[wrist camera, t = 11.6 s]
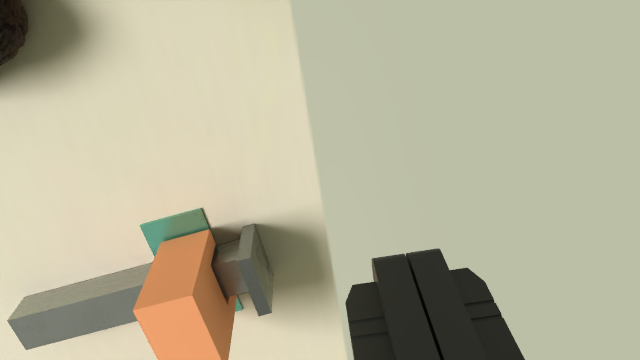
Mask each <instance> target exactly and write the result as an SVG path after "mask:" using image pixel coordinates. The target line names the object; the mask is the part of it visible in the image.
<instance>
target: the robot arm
mask: <svg viewBox="0 0 640 360" xmlns="http://www.w3.org/2000/svg"><path fill="white" fill-rule="evenodd" d="M372 269H373V278H374V282H370V283H364V284H356V285H352V288H351V290H350V293H349V295H348V298H347V300H346V309H347V316H348V322H349V329H350V336H351V343H352V349H353V356H354V360H525V359H524V357H523V355H522V353H521V351H520V349H519V347H518V345H517V344H516V342H515V340H514V338H513V336H512V334H511V332H510V330H509V328H508V326H507V324H506V322H505V320H504V318H502V316H501V312H500V310H499V309H498V307H497V305H496V303H494V299H493V297H492V295H491V293H490V291H489V289H488V287H487V285H486V283H485V282H484V281H483V280H482V279H481V278H479V277H478V276H477V275H476V274H475V273H473V272H472V271H471V270H470V269H468V268H463V269H456V270H449V268H448V266H447V264H446V262H445V259H444V257H443V255H442V253H441V251H440V249H431V250H425V251H419V252H411V253H406V256H405V255H404V254H399V255H393V256H386V257H379V258H373V259H372Z"/></svg>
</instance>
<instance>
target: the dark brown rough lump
mask: <svg viewBox="0 0 640 360" xmlns="http://www.w3.org/2000/svg"><path fill="white" fill-rule="evenodd" d="M27 30H28V18H27V15H26V12H25V10H24V8H23V6H22V5H21V2H20V0H0V66H1V65H2V64H4V63H6V62H8V61H9V60H11V59H13V58H14V56H15V55H16V54H17V52H18V49H19V48H20V47H22V46H23V45H24V43H25V35H26V33H27Z"/></svg>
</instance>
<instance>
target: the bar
mask: <svg viewBox="0 0 640 360" xmlns="http://www.w3.org/2000/svg"><path fill="white" fill-rule="evenodd" d="M140 227H141V229H142V231H143V234H144V236H145V238H146V240H147V242H148V244H149V246H150V248H151V250H152V253H153V255H154V257H155V256H156V253H157V251H158V248H159V246H160V244H161V242H164V241H168V240H171V239H175V238H179V237H182V236H186V235H190V234H193V233H197V232H201V231H205V230H208V229H209V226H208V224H207V222H206V219H205V217H204V214H203V212H202V209H201V208H200V209H196V210H192V211H189V212H185V213H182V214H178V215H174V216H171V217H167V218H163V219H160V220H156V221H152V222H149V223H145V224H141V225H140ZM151 265H152V263H150V264H146V265H142V266H139V267H135V268H131V269H127V270H124V271H120V272H116V273H113V274H109V275H105V276H101V277H98V278H94V279H90V280H87V281H83V282H79V283H75V284H72V285H68V286H64V287H60V288H57V289H53V290H49V291H46V292H42V293H38V294H34V295H31V296H27V297H24V298H23V300H22V301H21V303H20V304H19V305H18V307H17V308H16V309H15V311H14V312H13V313H12V315H11V316H10V318H9V319H8V320H7V321H8V323H9V324H10V326H11V327H12V329H13V331H14V332H15V334H16V335H17V337H18V338H19V340H20V341H21V343H22V345H23V346H24V348H25V349H26V350H28V349H32V348H36V347H39V346H43V345H47V344H51V343H55V342H58V341H62V340H66V339H70V338H74V337H77V336H81V335H85V334H89V333H93V332H97V331H100V330H104V329H108V328H112V327H116V326H119V325H123V324H127V323H131V322H135V321H138V320H137V318H136V316H135V314H134V312H133V309H134V306H135V304H136V302H137V299H138V297H139V294H140V292H141V289H142V287H143V285H144V282H145V280H146V277H147V275H148V273H149V270H150V268H151ZM211 267H212V270H213V272H214V275H215V277H216V279H217V282H218V284H219V286H220V289H221V291H222V293H223V296H224V298H226V297H230V296H234V295H237V294H241V293H245V292H249V293H250V295H251V298H252V300H253V303H254V305H255V308H256V310H257V313H258V315H259V316H261V315H265V314H269V313H272V293H273V273H272V270H271V267H270V265H269V262H268V259H267V256H266V254H265V251H264V248H263V246H262V243H261V240H260V238H259V235H258V232H257V230H256V227H255V224H251V225H248V226H244V227H242V232H241V238H240V239H239V240H235V241H232V242H228V243H224V244H220V245H217V246H216V245H215V249H214V253H213V258H212V262H211ZM239 310H242V306H241V304H240V301H239V299H238V297H237V301H236V308H235V311H239Z"/></svg>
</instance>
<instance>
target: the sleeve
mask: <svg viewBox="0 0 640 360" xmlns="http://www.w3.org/2000/svg"><path fill="white" fill-rule="evenodd" d="M215 245H216V243H215V241H214V239H213V236H212V234H211V231H210V229H208V230H205V231H201V232H197V233H193V234H190V235H186V236H182V237H179V238H175V239H171V240H168V241H164V242H161V244H160V246H159V248H158V251H157V253H156V256H155V258H154V261H153V263H152V265H151V268H150V270H149V273H148V275H147V277H146V280H145V282H144V285H143V287H142V289H141V292H140V294H139V297H138V299H137V302H136V304H135V306H134V309H133V312H134V314H135V316H136V318H137V320H138V322H139V324H140V326H141V328H142V330H143V332H144V334H145V336H146V338H147V339H148V341H149V343H150V345H151V347H152V349H153V351H154V353H155V355H156V357H157V359H158V360H228V358H229V350H230V343H231V336H232V329H233V322H234V315H235V308H236V301H237V295H234V296H230V297H226V298H224V296H223V293H222V291H221V289H220V286H219V284H218V282H217V279H216V277H215V275H214V272H213V270H212V267H211V262H212V258H213V253H214V249H215Z"/></svg>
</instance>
